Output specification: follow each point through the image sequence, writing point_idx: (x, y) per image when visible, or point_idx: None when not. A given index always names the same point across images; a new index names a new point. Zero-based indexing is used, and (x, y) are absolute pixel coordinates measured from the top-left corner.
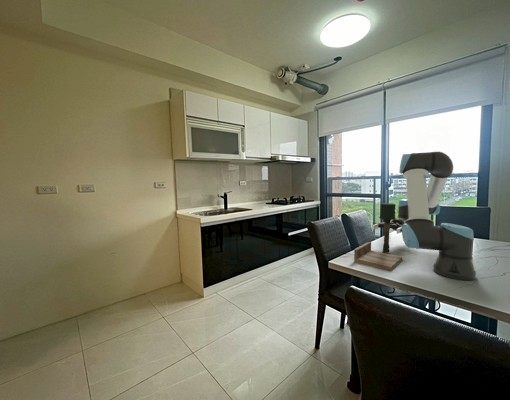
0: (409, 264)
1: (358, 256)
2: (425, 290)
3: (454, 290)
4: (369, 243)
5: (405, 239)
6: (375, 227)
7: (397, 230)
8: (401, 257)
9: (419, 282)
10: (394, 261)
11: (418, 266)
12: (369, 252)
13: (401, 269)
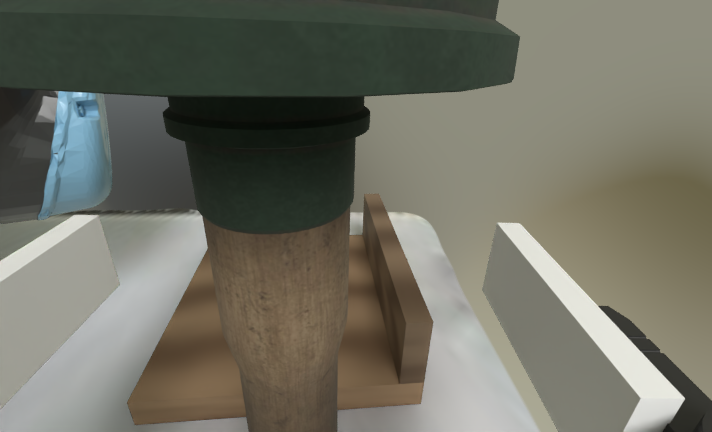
0: (97, 376)
1: (364, 235)
2: (117, 212)
3: (6, 244)
4: (396, 296)
5: (107, 138)
6: (518, 318)
7: (94, 241)
8: (139, 382)
9: (118, 236)
10: (197, 290)
11: (36, 380)
12: (376, 333)
13: (167, 286)
